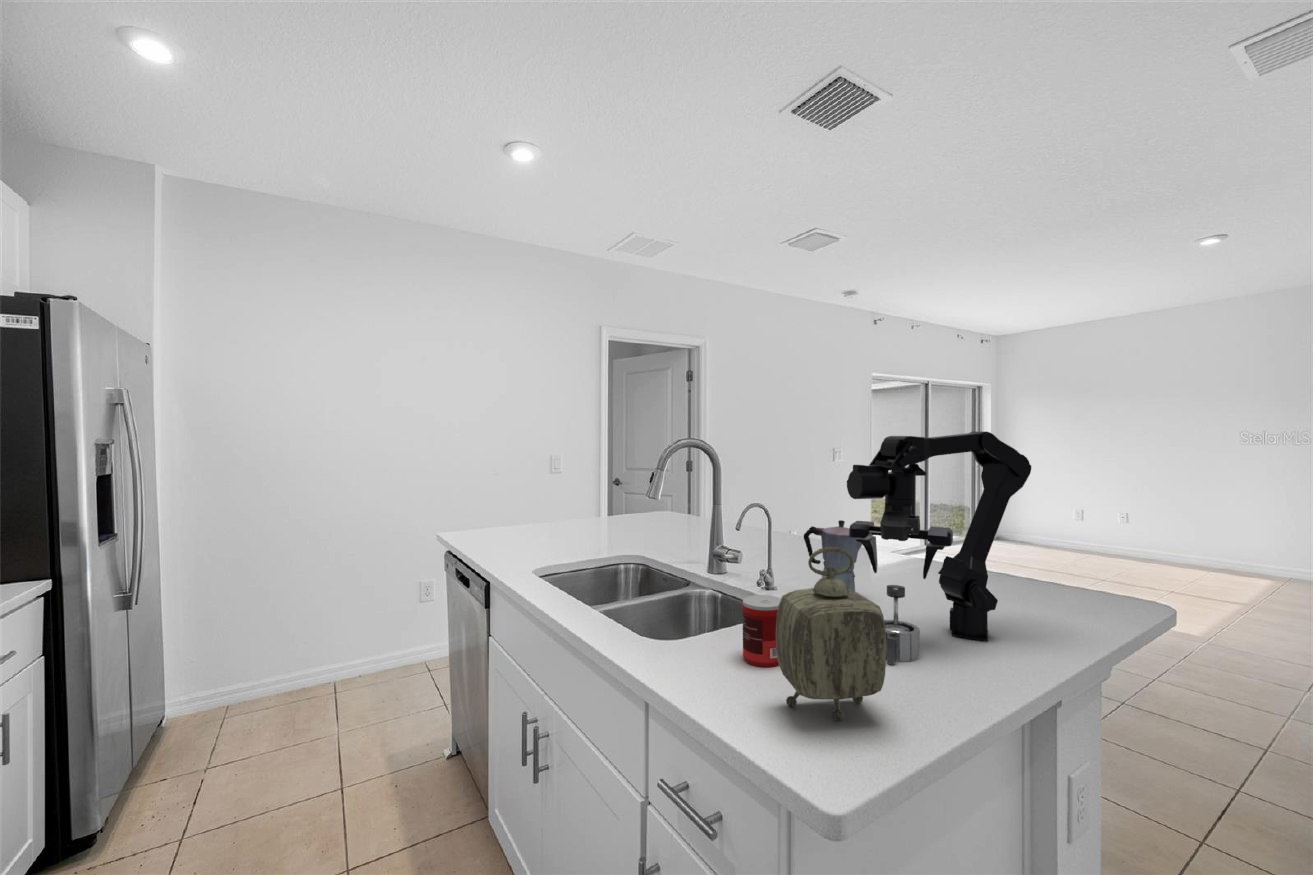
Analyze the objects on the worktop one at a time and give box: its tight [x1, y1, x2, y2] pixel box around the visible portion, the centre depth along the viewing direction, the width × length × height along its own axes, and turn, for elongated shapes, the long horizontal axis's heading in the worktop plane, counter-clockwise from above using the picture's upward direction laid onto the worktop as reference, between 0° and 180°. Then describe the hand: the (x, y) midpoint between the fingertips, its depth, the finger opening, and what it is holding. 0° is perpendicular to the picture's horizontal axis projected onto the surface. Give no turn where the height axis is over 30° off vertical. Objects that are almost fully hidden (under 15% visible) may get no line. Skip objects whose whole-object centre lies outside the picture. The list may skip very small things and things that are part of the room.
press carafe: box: [884, 619, 921, 666], centre depth 110 cm, size 8×11×5 cm
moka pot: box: [803, 519, 863, 592], centre depth 146 cm, size 10×15×20 cm, turn 78°
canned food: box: [742, 594, 782, 668], centre depth 108 cm, size 8×8×11 cm
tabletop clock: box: [776, 547, 887, 722], centre depth 87 cm, size 14×9×25 cm, turn 97°
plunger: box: [885, 584, 910, 633], centre depth 111 cm, size 5×5×8 cm
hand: (899, 575), depth 117 cm, fingers open, 9 cm apart
